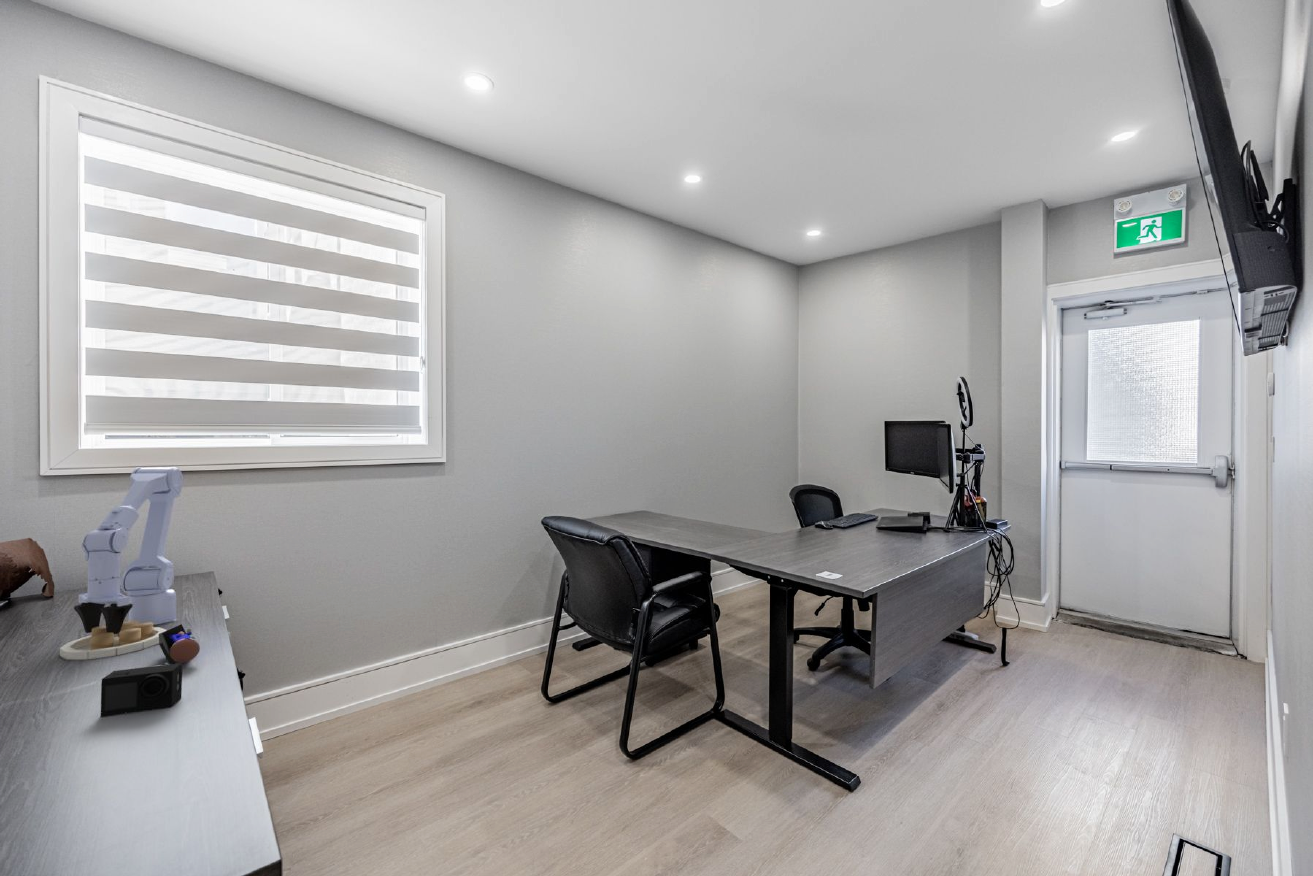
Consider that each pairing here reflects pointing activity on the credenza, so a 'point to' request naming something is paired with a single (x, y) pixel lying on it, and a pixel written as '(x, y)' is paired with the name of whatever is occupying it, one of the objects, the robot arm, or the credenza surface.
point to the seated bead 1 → (102, 641)
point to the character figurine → (178, 645)
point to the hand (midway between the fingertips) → (102, 633)
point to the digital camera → (141, 689)
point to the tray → (83, 646)
